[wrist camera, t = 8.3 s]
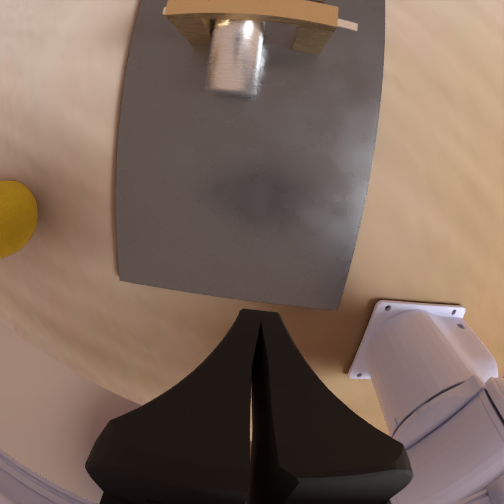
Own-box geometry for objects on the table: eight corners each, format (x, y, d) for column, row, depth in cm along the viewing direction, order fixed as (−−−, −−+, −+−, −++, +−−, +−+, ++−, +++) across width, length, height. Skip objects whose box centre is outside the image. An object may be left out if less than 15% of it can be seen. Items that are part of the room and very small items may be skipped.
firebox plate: (381, -21, 11) (409, -55, 6) (335, 305, 20) (353, 353, 15) (158, -40, 11) (131, -76, 6) (123, 276, 20) (88, 315, 15)
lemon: (39, 159, 17) (-37, 178, 10) (65, 219, 19) (-6, 258, 11) (8, 193, 18) (-57, 219, 11) (32, 246, 20) (-29, 286, 13)
